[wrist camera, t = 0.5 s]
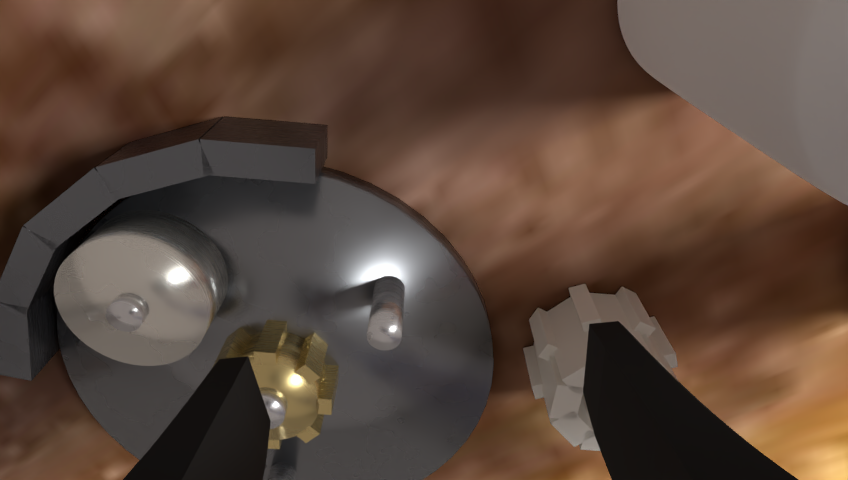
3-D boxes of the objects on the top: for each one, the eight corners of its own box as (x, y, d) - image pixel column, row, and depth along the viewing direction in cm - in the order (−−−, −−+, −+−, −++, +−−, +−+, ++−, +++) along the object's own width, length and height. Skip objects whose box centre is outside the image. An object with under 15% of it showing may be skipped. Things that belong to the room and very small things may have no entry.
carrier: (465, 504, 30) (470, 581, 27) (77, 479, 29) (29, 555, 26) (529, 142, 21) (549, 186, 17) (-31, 94, 20) (-127, 130, 17)
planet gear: (635, 391, 26) (667, 463, 23) (515, 383, 26) (529, 453, 23) (669, 289, 24) (711, 353, 20) (537, 279, 24) (555, 341, 20)
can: (612, 101, 20) (813, 292, 10) (612, -116, 17) (902, -183, 7) (807, 73, 20) (1244, 241, 9) (841, -155, 17) (1552, -296, 6)
